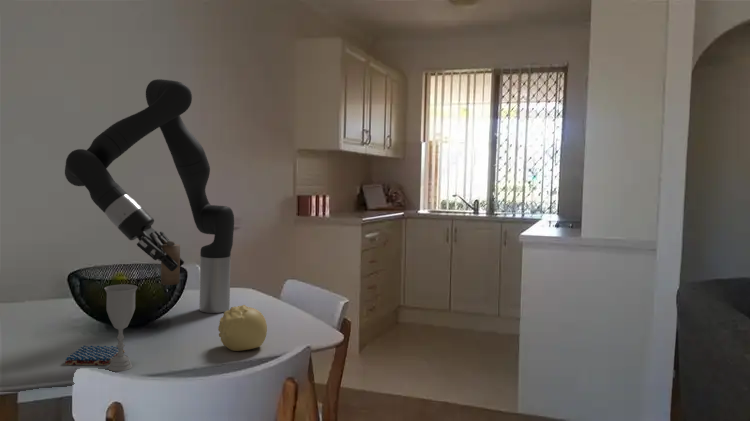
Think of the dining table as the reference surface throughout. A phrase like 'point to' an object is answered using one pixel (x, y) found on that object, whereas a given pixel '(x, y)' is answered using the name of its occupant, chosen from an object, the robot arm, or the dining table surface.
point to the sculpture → (242, 328)
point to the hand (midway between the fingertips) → (178, 266)
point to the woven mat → (92, 356)
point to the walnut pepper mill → (166, 274)
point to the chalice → (120, 319)
